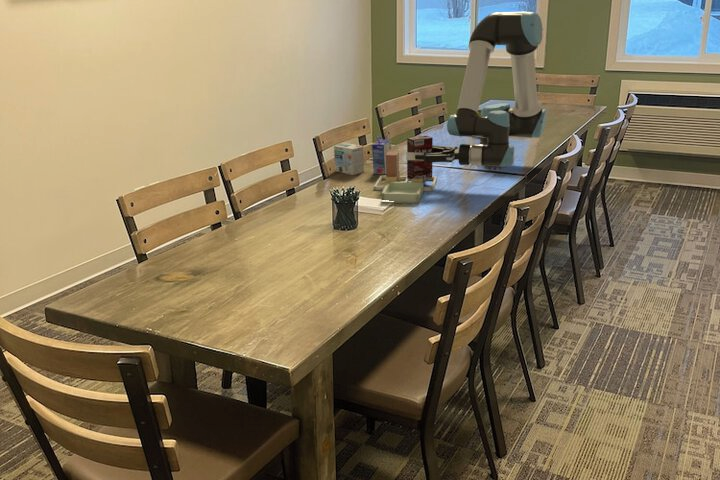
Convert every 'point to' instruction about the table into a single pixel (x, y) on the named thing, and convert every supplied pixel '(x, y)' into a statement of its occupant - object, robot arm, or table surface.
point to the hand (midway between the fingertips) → (409, 153)
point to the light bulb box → (349, 158)
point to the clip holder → (394, 179)
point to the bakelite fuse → (392, 164)
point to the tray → (403, 192)
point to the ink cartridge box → (380, 155)
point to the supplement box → (418, 167)
